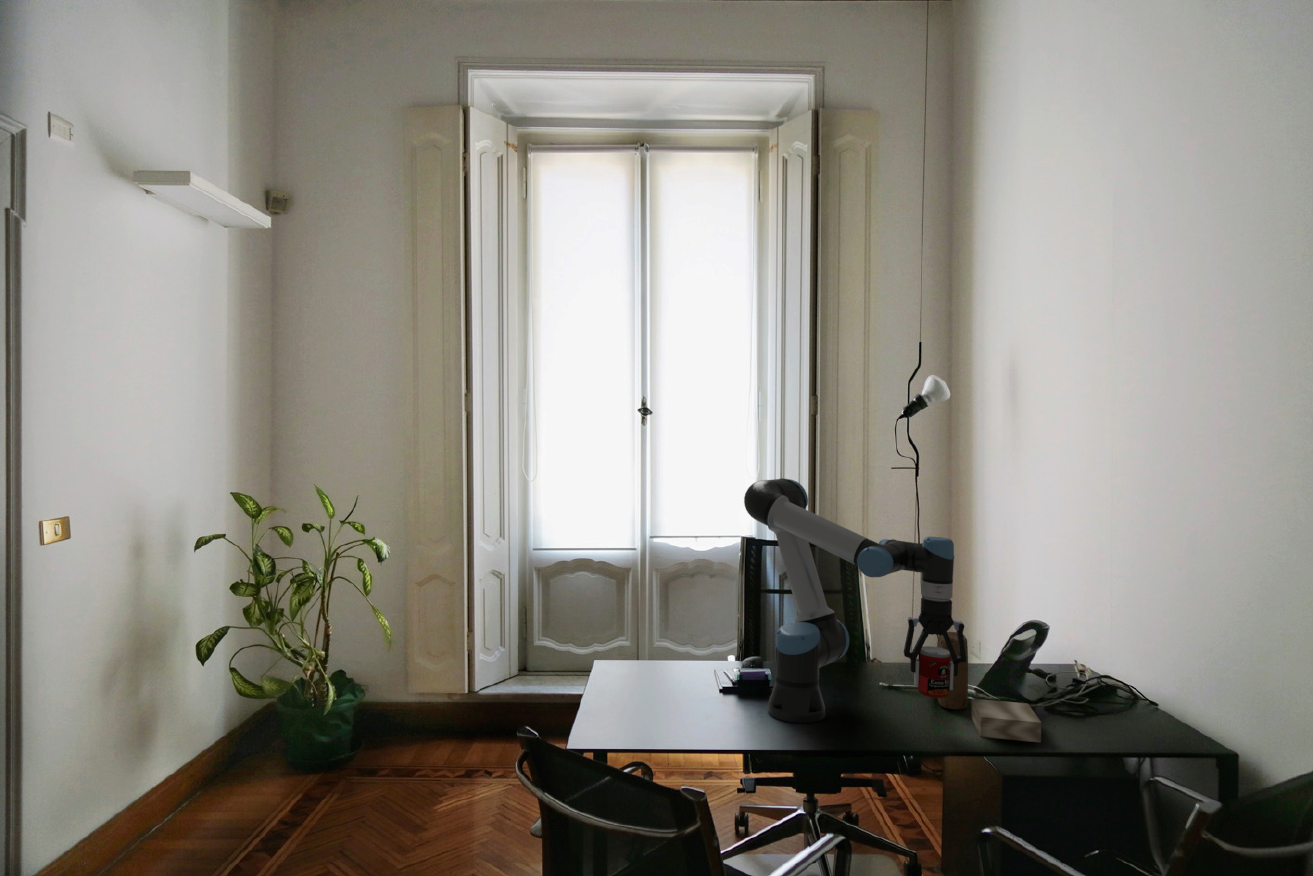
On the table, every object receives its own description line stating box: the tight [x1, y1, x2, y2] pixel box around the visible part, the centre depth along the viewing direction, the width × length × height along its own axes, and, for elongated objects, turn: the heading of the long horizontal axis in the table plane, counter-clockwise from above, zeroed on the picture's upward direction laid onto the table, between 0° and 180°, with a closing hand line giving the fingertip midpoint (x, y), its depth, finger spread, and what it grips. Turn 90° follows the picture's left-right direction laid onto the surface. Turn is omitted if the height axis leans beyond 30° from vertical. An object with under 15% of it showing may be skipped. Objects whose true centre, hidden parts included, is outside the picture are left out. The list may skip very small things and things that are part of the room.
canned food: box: [917, 645, 950, 699], centre depth 200 cm, size 8×8×11 cm
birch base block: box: [970, 698, 1042, 744], centre depth 201 cm, size 14×14×5 cm
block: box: [936, 631, 969, 711], centre depth 220 cm, size 11×8×20 cm
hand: (933, 686), depth 200 cm, fingers closed on canned food, 8 cm apart
